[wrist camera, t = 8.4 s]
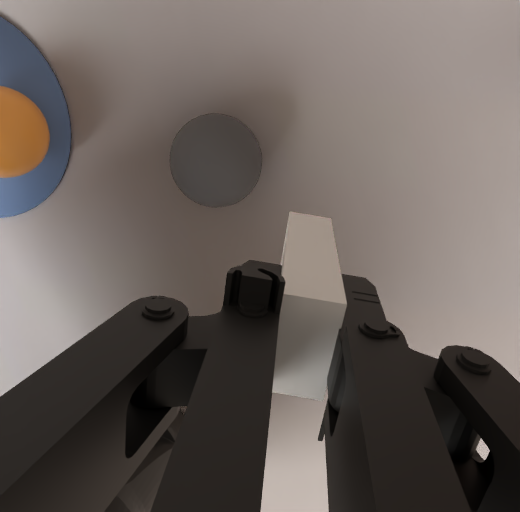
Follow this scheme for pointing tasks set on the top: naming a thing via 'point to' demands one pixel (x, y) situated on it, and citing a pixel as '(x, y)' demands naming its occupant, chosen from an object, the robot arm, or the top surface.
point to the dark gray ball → (215, 160)
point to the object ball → (21, 134)
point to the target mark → (53, 108)
